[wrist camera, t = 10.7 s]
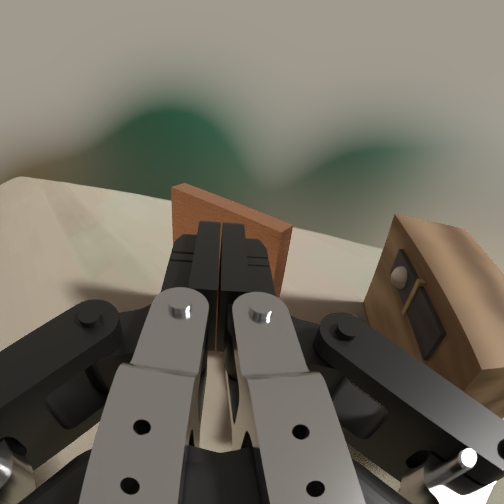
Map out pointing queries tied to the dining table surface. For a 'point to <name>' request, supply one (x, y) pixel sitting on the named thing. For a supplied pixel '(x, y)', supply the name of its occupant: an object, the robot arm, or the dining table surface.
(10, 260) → the dining table surface
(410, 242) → the wooden box
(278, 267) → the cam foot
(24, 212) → the dining table surface
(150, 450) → the robot arm
